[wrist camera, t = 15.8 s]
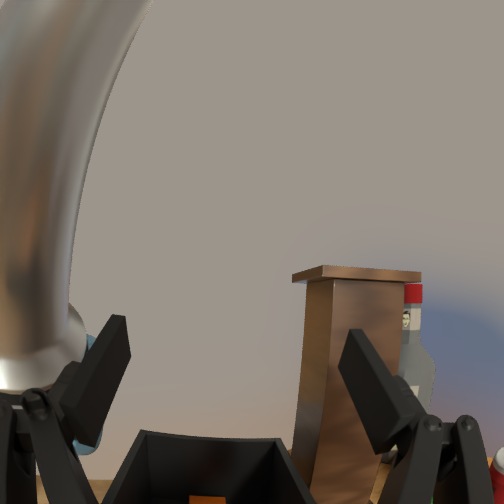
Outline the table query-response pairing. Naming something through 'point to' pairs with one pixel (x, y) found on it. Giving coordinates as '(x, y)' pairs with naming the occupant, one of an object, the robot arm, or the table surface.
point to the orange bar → (206, 500)
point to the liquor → (414, 354)
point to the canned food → (498, 476)
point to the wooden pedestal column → (331, 382)
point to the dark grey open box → (207, 471)
